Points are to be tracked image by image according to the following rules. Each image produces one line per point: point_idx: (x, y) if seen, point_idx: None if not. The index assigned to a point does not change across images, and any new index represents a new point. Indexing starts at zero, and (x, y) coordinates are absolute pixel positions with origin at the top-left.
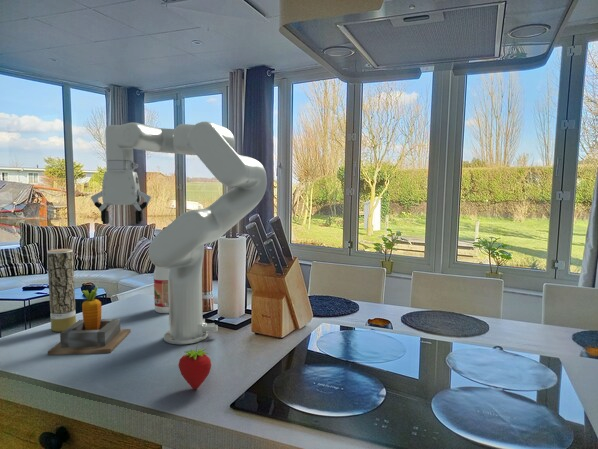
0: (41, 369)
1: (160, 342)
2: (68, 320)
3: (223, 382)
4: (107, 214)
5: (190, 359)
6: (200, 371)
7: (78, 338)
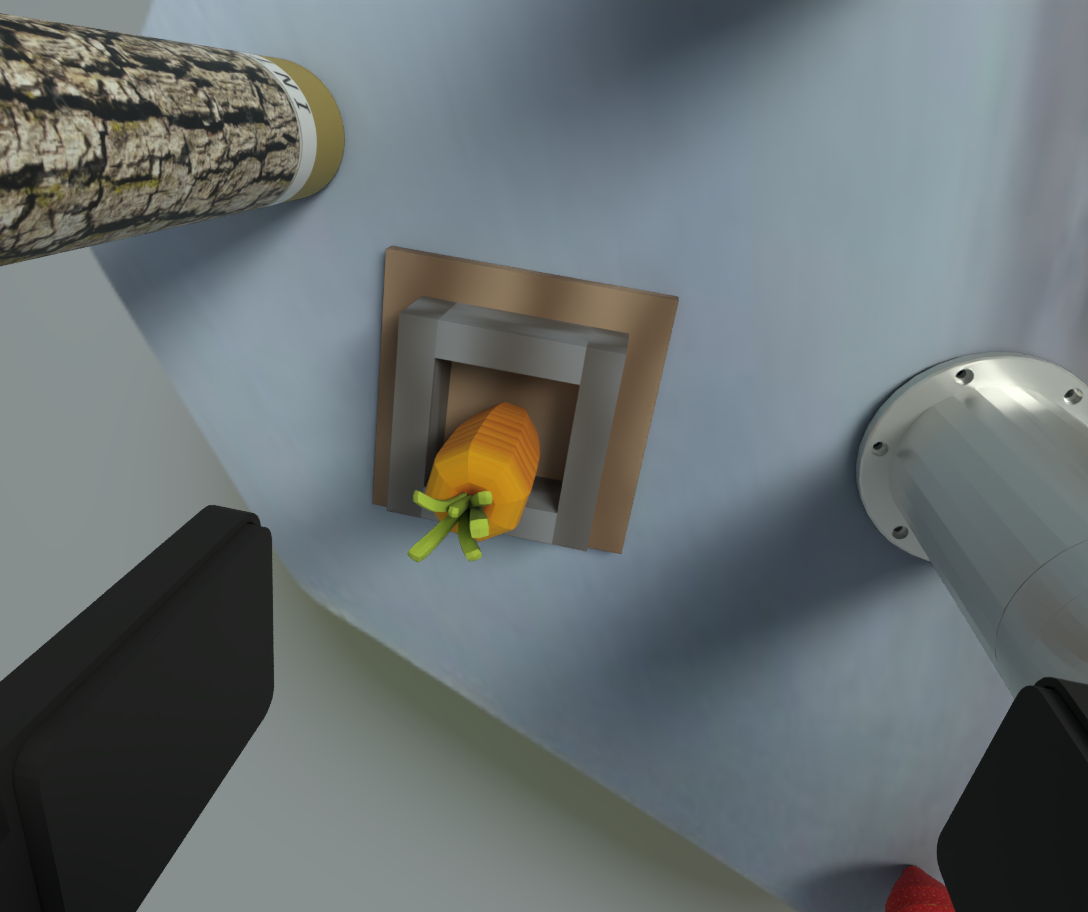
0: (414, 616)
1: (834, 490)
2: (307, 188)
3: None
4: (131, 753)
5: None
6: None
7: None
